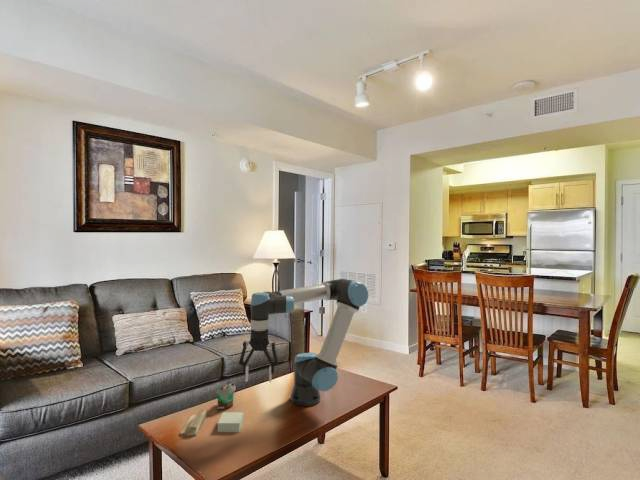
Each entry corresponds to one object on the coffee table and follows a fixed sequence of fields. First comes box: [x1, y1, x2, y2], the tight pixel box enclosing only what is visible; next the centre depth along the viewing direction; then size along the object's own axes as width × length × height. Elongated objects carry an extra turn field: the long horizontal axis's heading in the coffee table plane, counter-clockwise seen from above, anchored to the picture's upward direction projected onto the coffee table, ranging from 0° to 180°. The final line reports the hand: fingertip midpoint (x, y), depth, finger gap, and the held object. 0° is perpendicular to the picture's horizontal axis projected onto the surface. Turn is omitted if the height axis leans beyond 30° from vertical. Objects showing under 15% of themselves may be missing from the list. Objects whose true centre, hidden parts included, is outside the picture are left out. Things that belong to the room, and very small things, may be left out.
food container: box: [216, 380, 237, 411], centre depth 183 cm, size 12×6×10 cm, turn 168°
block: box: [217, 411, 245, 433], centre depth 164 cm, size 9×10×4 cm
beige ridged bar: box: [179, 408, 208, 437], centre depth 164 cm, size 6×16×4 cm, turn 2°
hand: (258, 380), depth 165 cm, fingers open, 9 cm apart
